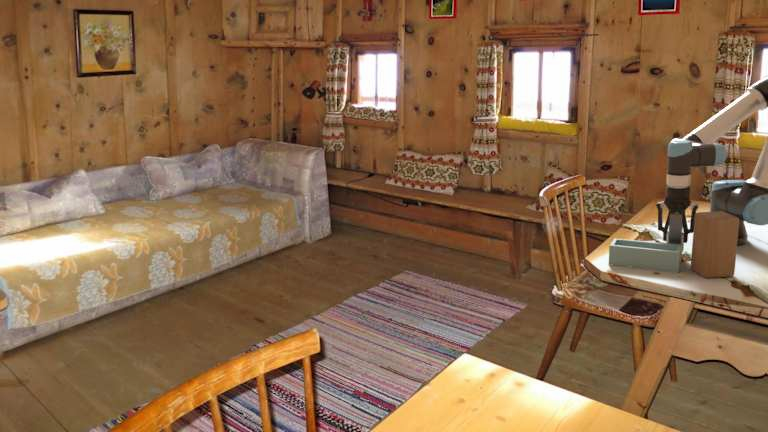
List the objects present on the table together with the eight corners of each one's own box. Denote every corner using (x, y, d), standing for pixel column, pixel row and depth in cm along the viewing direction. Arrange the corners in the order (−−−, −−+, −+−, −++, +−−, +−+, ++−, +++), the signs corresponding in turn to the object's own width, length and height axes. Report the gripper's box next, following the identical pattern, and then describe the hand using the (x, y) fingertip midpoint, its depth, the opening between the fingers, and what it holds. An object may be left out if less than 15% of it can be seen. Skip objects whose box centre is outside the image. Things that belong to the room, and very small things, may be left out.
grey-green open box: (681, 264, 227) (682, 244, 225) (678, 272, 219) (679, 252, 218) (613, 256, 238) (614, 238, 236) (608, 264, 230) (609, 245, 228)
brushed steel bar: (681, 255, 234) (683, 211, 230) (679, 258, 230) (682, 214, 226) (668, 253, 236) (671, 210, 232) (667, 257, 232) (669, 213, 228)
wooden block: (689, 269, 222) (693, 211, 217) (717, 267, 223) (722, 209, 218) (705, 279, 213) (710, 219, 207) (735, 277, 213) (741, 217, 208)
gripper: (706, 184, 225) (702, 249, 232) (653, 182, 234) (650, 245, 240) (704, 189, 219) (700, 256, 225) (650, 186, 227) (647, 251, 233)
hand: (674, 250), depth 232 cm, fingers closed on brushed steel bar, 4 cm apart
